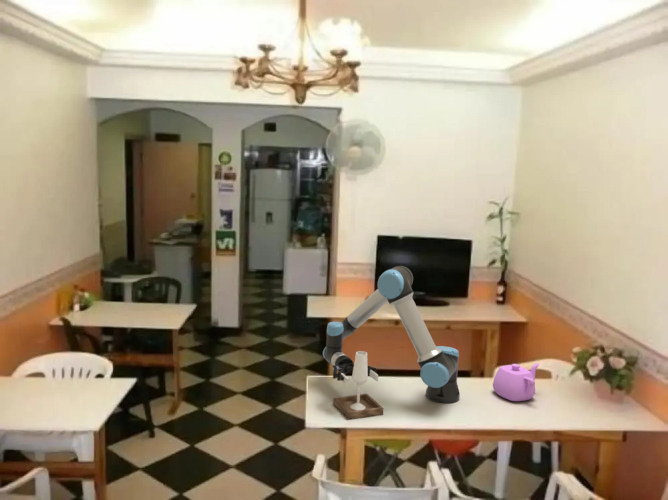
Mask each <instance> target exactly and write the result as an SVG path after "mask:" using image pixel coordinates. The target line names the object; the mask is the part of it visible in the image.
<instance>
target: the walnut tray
mask: <svg viewBox="0 0 668 500" xmlns="http://www.w3.org/2000/svg"><path fill="white" fill-rule="evenodd" d="M332 401H333V404H332V405H333V406H334V407H335V408H336V409H337V410H338V411H339V412H340V413H341V414H342V415H343V416H344V417H345V418H346V419H347V421H350V420H358V419H365V418H372V417H376V416H377V417H378V416H383V415H384V407H383V406H382V405H381V404H380V403H378V402H377V401H376V400H375V399H374V398H373V397H371V396H370V395H369V394H368V393H360V402H359V403H361V404H362V405H364V406H365V407H366V408H365V409H364V410H354V409H351V408H350V405H352V404H355V403H357V394H354V395H347V396H338V397H333V400H332Z"/></svg>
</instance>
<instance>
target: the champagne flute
mask: <svg viewBox="0 0 668 500" xmlns="http://www.w3.org/2000/svg"><path fill="white" fill-rule="evenodd" d="M353 363H354V368H353V372H352V375H351V380H352V382H353V383H354V384H356V386H357V394H356V395H357V403H355V404H352V405H350V408H351V409H354V410H364V409H365V408H366V407H365V406H364V405H362V404H361V403H359V402H360V394H361V386H363V385H364V384H365V383H366V382H367V381H368V378H369V376H368V366H369V365H368V352H367V351H363V350H362V351H361V350H359V351H356V352H355V357H354V361H353Z"/></svg>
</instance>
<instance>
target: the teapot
mask: <svg viewBox="0 0 668 500" xmlns="http://www.w3.org/2000/svg"><path fill="white" fill-rule="evenodd" d="M539 366H540V363H535V364H533V365H532V367H531V368H530V370H528V369H527V368H526V367H524V366H521V365H520V364H518V363H512V364H507V365H502V366H499V368H498V370H497V372H496V373H495V374H494V378H493V382H492V388H493V390H494V393H496V394H497V395H498V396H500V397H502V398H503V399H506V400H509V401H510V402H522V401H528V400H531V399H533V397H535V394H536V381H535V380H536V371H537V368H538V367H539Z"/></svg>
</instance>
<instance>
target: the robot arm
mask: <svg viewBox="0 0 668 500" xmlns="http://www.w3.org/2000/svg"><path fill="white" fill-rule="evenodd" d="M413 281H414V276H413V272H412V271H411V270H410V269H409V268H408V267H406V266H403V265H397V266H394V267H392V268H389V269H387V270H385V271H384V272H382V274H381V275H379V277H378V280H377V289H375V291H373V292H372V294H370V295H369V296H368V297H367V298H366V299H365V300H363V302H362V303H360V304H359V305H358V306H357V307H356V308H355V309H354V310H353V311H351V312H350V313H349V314H348V315H347V316H346V317H345V318H343V320H341V321H330V322H328V323H327V327H326V346H325V347H324V349H323V351H322V356H323V358H324V359H325V361H326V362H327V363H329V364H330V365H331V366H332V372H333V373H332V379H333V380H336V379H337V381H341V382H343V383H344V384H345V385H346V386H349V383H350V378H349V377H348V376H346V374H349V373H352V374H353V368H354V361H353V360H352V359H351V358H350V357H349V356H348V355H347V354H345V353H344V352H343V345H344V344H343V343H344V342H343V341H344V340H345V339H346V338H347V337H350V336H352V335H353V334H354V333H355V332H356V331H357V330H358V328H360V327H361V326H362V325H363V324H364V323H366V322H367V321H368V320H369V319H370V318H371V317H372V316H373V315H374V314H376V313H377V312H378V311H379V310H380V309H382V307H384V306H385V305H386V304H387V303H389V305H391V306H393V307H394V308H395V310H396V313H397V314H398V317H399V319H400V320H401V323H402V325H403V327H404V328H405V332H406V333H407V335H408V337H409V339H410V341H411V343H412V345H413V347H414V349H415V351H416V354H417V356H418V357H417V360H416V362H417V363H418V366H419V368H420V373H419V374H420V379H421V380H422V382H423V383H424V385H426V386H427V387H426V389H425V390H426V391H425V396H426V398H427V399H429V400H431V401H432V402H436V403H441V404H453V403H457V402H458V401H459V400H460V396H461V395H460V389H459V385H458V381H457V380H458V371H459V370H458V369H459V359H460V352H459V350H458V349H456V348H454V347H451V346H444V345H440V346H439V345H438V346H437V345H436V344H435V342H434V339H433V338H432V335H431V333H430V332H429V329H428V326H427V325H426V323H425V321H424V319H423V317H422V315H421V313H420V311H419V309H418V307H417V305H416V302H415V301H414V299H413V295H414V290H413V289H412V285H413ZM367 366H368V375H369V377H370V378H371V379H373V380H374V381H375V382H378V381H379V374H378V373H377V368H376V367H374V366H370V365H367Z"/></svg>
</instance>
